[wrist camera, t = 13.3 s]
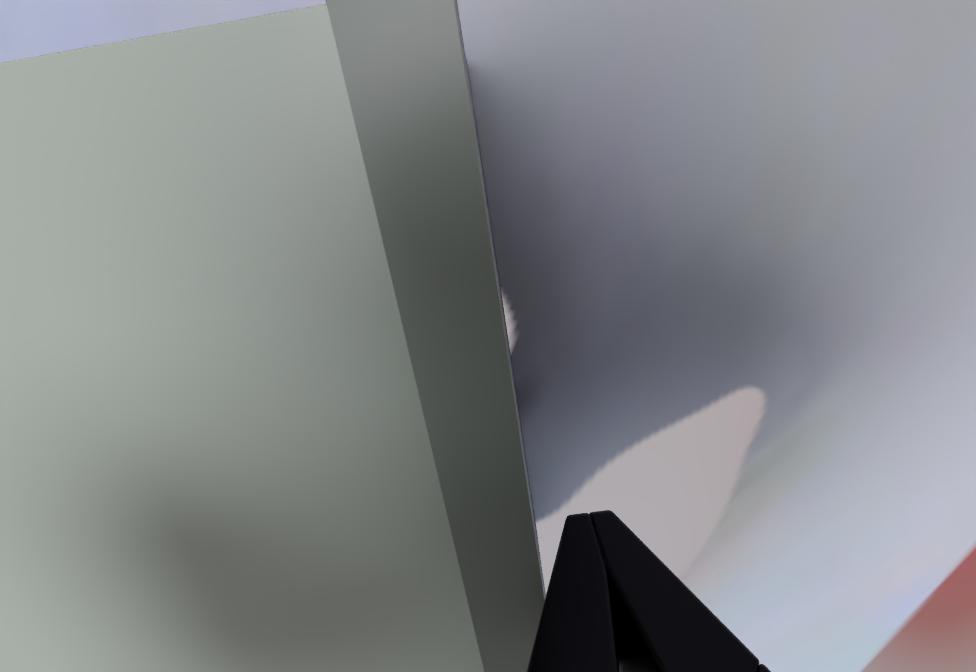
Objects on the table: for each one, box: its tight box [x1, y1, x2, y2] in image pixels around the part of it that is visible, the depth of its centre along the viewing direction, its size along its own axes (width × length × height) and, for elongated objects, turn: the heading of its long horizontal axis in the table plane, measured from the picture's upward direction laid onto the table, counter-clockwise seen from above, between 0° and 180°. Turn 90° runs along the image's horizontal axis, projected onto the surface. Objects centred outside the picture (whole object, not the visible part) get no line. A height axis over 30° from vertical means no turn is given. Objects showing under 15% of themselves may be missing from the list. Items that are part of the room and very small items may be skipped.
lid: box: [0, 0, 546, 672], centre depth 9 cm, size 13×17×2 cm
